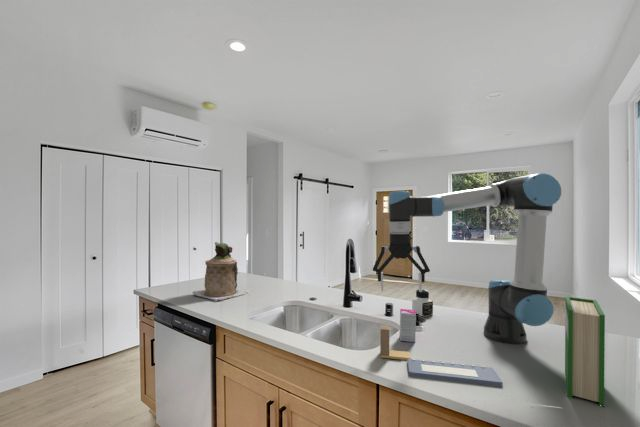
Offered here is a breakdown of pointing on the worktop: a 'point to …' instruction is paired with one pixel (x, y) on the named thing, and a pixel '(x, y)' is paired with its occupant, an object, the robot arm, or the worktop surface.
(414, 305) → the medicine bottle
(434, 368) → the blue-grey flat rectangular block
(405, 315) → the supplement box
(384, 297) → the worktop surface
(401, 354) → the wooden l-shaped block
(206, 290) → the cookie jar
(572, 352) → the hardback book
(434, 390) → the worktop surface
